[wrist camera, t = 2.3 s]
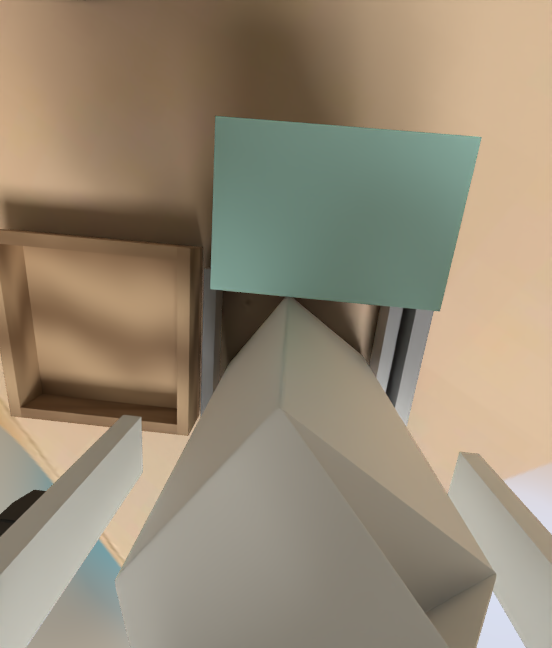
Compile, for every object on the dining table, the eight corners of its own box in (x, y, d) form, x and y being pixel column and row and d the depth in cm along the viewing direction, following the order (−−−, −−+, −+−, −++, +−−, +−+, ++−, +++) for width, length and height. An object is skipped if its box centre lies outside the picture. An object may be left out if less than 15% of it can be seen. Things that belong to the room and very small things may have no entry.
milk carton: (227, 364, 23) (-48, 879, 4) (288, 293, 21) (256, 640, 3) (299, 419, 24) (321, 1037, 5) (363, 355, 22) (721, 934, 4)
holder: (215, 184, 19) (72, 79, 7) (434, 203, 19) (711, 128, 6) (205, 478, 26) (121, 707, 13) (371, 497, 25) (450, 752, 13)
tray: (17, 230, 21) (-21, 228, 18) (202, 247, 20) (190, 247, 18) (40, 398, 24) (10, 416, 22) (199, 415, 24) (188, 435, 21)
